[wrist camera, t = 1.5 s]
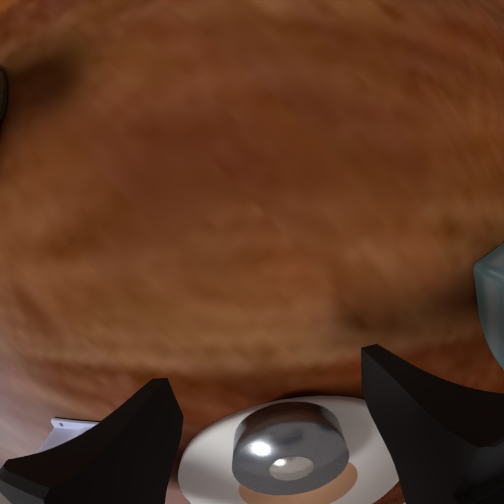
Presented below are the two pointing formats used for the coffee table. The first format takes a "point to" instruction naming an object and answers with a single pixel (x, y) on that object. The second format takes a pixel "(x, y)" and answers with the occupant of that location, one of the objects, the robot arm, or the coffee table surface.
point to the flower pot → (491, 299)
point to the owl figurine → (3, 93)
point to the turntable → (319, 500)
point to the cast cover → (289, 449)
